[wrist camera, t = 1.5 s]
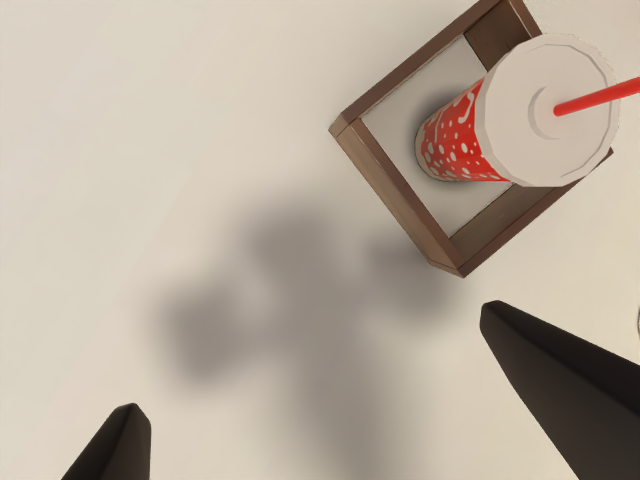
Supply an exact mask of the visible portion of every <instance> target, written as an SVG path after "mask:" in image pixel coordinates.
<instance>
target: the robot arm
mask: <svg viewBox="0 0 640 480" xmlns="http://www.w3.org/2000/svg"><path fill="white" fill-rule="evenodd" d="M480 330H481V333H482V335H483V337H484V338H485V340H486V342H487V344H488V345H489V347H490V349H491V351H492V352H493V354H494V356H495V358H496V359H497V361H498V363H499V365H500V366H501V368H502V370H503V371H504V373H505V375H506V377H507V378H508V380H509V382H510V383H511V385H512V386H513V388H514V389H515V391H516V392H517V394H518V395H519V397H520V398H521V399H522V401H523V402H524V404H525V405H526V406H527V408H528V409H529V410H530V412H531V413H532V415H533V416H534V417H535V419H536V420H537V422H538V423H539V424H540V426H541V427H542V429H543V430H544V431H545V433H546V434H547V436H548V437H549V438H550V440H551V441H552V442H553V444H554V445H555V447H556V448H557V449H558V451H559V452H560V454H561V455H562V456H563V458H564V459H565V461H566V462H567V463H568V465H569V466H570V468H571V469H572V470H573V472H574V473H575V474H576V476H577V477H578V479H579V480H640V365H637V364H635V363H633V362H631V361H629V360H627V359H625V358H622V357H620V356H618V355H616V354H614V353H612V352H610V351H607V350H605V349H603V348H601V347H599V346H597V345H595V344H592V343H590V342H588V341H586V340H584V339H582V338H579V337H577V336H575V335H573V334H571V333H569V332H567V331H564V330H562V329H560V328H558V327H556V326H554V325H552V324H549V323H547V322H545V321H543V320H541V319H539V318H537V317H534V316H532V315H530V314H528V313H526V312H524V311H522V310H519V309H517V308H515V307H513V306H511V305H509V304H507V303H504V302H502V301H499V300H495V301H491V302H488V303H485V304H483V306H482V309H481V317H480ZM150 453H151V424H150V421H149V419H148V418H147V417H146V415H145V414H144V413H143V412H142V410H141V409H140V408H139V406H138V405H137V404H135V403H130V404H126V405H123V406H119V407H117V408H116V409H115V410H114V411H113V412H112V413H111V414H110V416H109V417H108V418H107V420H106V421H105V422H104V424H103V425H102V426H101V428H100V429H99V430H98V432H97V433H96V434H95V435H94V437H93V438H92V439H91V441H90V442H89V443H88V445H87V446H86V447H85V449H84V450H83V451H82V453H81V454H80V455H79V457H78V458H77V459H76V460H75V462H74V463H73V464H72V466H71V467H70V468H69V470H68V471H67V472H66V474H65V475H64V476H63V478H62V479H61V480H149V477H150Z"/></svg>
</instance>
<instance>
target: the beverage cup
mask: <svg viewBox="0 0 640 480" xmlns="http://www.w3.org/2000/svg"><path fill="white" fill-rule="evenodd" d="M636 93H640V77H637V78H634V79H631V80H628V81H625V82H622V83H619V84H617V83H616V79H615V75H614V72H613V69H612V68H611V67H610V65H609V64H608V63H607V61H606V60H605V59H604V57H603V56H602V55H601V53H600V52H599V51H598V50H597V48H596V47H594V46H592V45H590V44H588V43H587V42H585V41H583V40H581V39H579V38H577V37H576V36H574V35H569V34H547V33H545V34H542V35H540V36H538V37H535V38H533V39H530V40H528V41H526V42H523V43H521V44H519V45H517V46H516V47H514V48H513V49H512V50H511V51H510V52H508V53H506V54H505V55H504V56H503V57H502V58H501V59H500V60H499V61H498V62H497V63H496V64H495V66H494V67H493V68H492V69H491V70H490V71H489V72H488V73H487V74H486V76H484V77H483V78H482V79H480V80H479V81H477V82H476V83H475V84H473V85H472V86H471V87H469V88H468V89H467V90H465V91H464V92H462V93H461V94H460V95H458V96H457V97H456V98H454V99H453V100H451V101H450V102H449V103H447V104H446V105H445V106H443V107H442V108H440V109H439V110H438V111H436V112H435V113H434V114H432V115H431V116H430V117H429V118H428V119H427V120H426V121H425V122H424V123H423V124H422V125H421V126H420V129H419V131H418V134H417V136H416V139H415V154H416V157H417V159H418V162H419V165H420V166H421V168H422V169H423V170H424V171H425V172H426V173H427V174H428V175H429V176H431V177H433V178H436V179H438V180H440V181H512V182H514V183H517V184H519V185H521V186H523V187H558V186H564V185H566V184H569V183H571V182H573V181H575V180H577V179H580V178H582V177H584V176H586V175H588V174H589V173H590V172H591V170H592V169H593V168H594V167H595V166H596V165H597V164H598V163H599V162H600V161H601V160H602V159H603V158H604V157H605V156H606V155H607V153H608V150H609V148H610V146H611V144H612V141H613V139H614V137H615V134H616V132H617V130H618V126H619V114H620V101H621V98H623V97H626V96H630V95H633V94H636Z"/></svg>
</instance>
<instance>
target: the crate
mask: <svg viewBox="0 0 640 480" xmlns="http://www.w3.org/2000/svg"><path fill="white" fill-rule="evenodd" d="M463 34H464V35H465V37H466V38H467V40H468V41H469V43H470V44H471V46H472V47H473V49H474V51H475V52H476V54H477V55H478V57H479V58H480V60H481V61H482V63H483V64H484V66H485V68H486V69H487V71H488V72H489V71H490V70H491V69H492V68H493V67H494V66H495V64H496V63H497V62H498V61H499V60H500V59H501V58H502V57H503V56H504V55H505V54H506V53H508V52H510V51H511V50H512V49H513V48H514V47H516V46H517V45H519V44H521V43H523V42H526V41H528V40H530V39H533V38H535V37H538V36H540V35H542V32H541V30H540V29H539V27H538V25H537V24H536V22H535V21H534V19H533V17H532V16H531V14H530V12H529V11H528V9H527V7H526V6H525V4H524V2H523V1H522V0H479V1H478V2H477V3H475V4H474V5H473V6H472V7H470V8H469V9H468V10H467V11H466V12H464V13H463V14H462V15H461V16H459V17H458V18H457V19H456V20H454V21H453V22H452V23H451V24H450V25H448V26H447V27H446V28H445V29H443V30H442V31H441V32H440V33H439V34H437V35H436V36H435V37H434V38H432V39H431V40H430V41H429V42H427V43H426V44H425V45H424V46H423V47H421V48H420V49H419V50H418V51H416V52H415V53H414V54H413V55H411V56H410V57H409V58H408V59H407V60H405V61H404V62H403V63H402V64H400V65H399V66H398V67H397V68H395V69H394V70H393V71H392V72H391V73H389V74H388V75H387V76H386V77H384V78H383V79H382V80H381V81H380V82H378V83H377V84H376V85H375V86H373V87H372V88H371V89H370V90H368V91H367V92H366V93H365V94H364V95H362V96H361V97H360V98H359V99H357V100H356V101H355V102H354V103H352V104H351V105H350V106H349V107H348V108H346V109H345V110H344V111H343V112H341V113H340V115H339V116H338V117H337V119H336V120H335V122H334V123H333V124H332V126H331V127H330V128H329V131H330V133H331V134H332V135H333V137H334V138H336V141H337V142H338V143H339V145H340V146H341V147H342V148H343V150H344V151H345V152H346V154H347V155H348V156H349V158H350V159H351V160H352V162H353V163H354V164H355V166H356V167H357V168H358V170H359V171H360V172H361V173H362V175H363V176H364V177H365V179H366V180H367V181H368V183H369V184H370V185H371V187H372V188H373V189H374V191H375V192H376V193H377V194H378V196H379V197H380V198H381V200H382V201H383V202H384V204H385V205H386V206H387V208H388V209H389V210H390V212H391V213H392V214H393V216H394V217H395V218H396V219H397V221H398V222H399V223H400V225H401V226H402V227H403V229H404V230H405V231H406V233H407V234H408V235H409V237H410V238H411V239H412V240H413V242H414V243H415V244H416V246H417V247H418V248H419V250H420V251H421V252H422V254H423V255H424V256H425V257H426V258H427V260H428V261H429V263H430V264H431V265H432V266H435V267H437V268H439V269H442V270H444V271H447V272H449V273H451V274H454V275H456V276H459V277H461V278H465V277H466V276H467V275H469V274H470V273H471V272H472V271H473V270H475V269H476V268H477V267H478V266H479V265H481V264H482V263H483V262H484V261H485V260H487V259H488V258H489V257H490V256H491V255H492V254H494V253H495V252H496V251H497V250H498V249H500V248H501V247H502V246H503V245H504V244H506V243H507V242H508V241H509V240H510V239H512V238H513V237H514V236H515V235H516V234H518V233H519V232H520V231H521V230H522V229H523V228H525V227H526V226H527V225H528V224H529V223H531V222H532V221H533V220H534V219H535V218H537V217H538V216H539V215H540V214H541V213H543V212H544V211H545V210H546V209H547V208H549V207H550V206H551V205H552V204H553V203H554V202H556V201H557V200H558V199H559V198H560V197H562V196H563V195H564V194H565V193H566V192H568V191H569V190H570V189H571V188H572V187H574V186H575V185H576V184H577V183H578V182H580V181H581V180H582V179H583V178H584V177H586V176H587V175H586V176H584V177H582V178H580V179H577V180H575V181H573V182H571V183H569V184H566V185H564V186H558V187H523V186H521V185H519V184H517V183H516V184H515V185H513V186H512V187H511V188H510V189H509V190H507V191H506V192H505V193H504V194H503V195H501V196H500V197H499V198H498V199H497V200H495V201H494V202H493V203H492V204H491V205H489V206H488V207H487V208H486V209H485V210H483V211H482V212H481V213H480V214H479V215H477V216H476V217H475V218H474V219H473V220H471V221H470V222H469V223H468V224H467V225H465V226H464V227H463V228H462V229H461V230H459V231H458V232H457V233H456V234H455V235H453V236H452V237H451V238H450V239H448V237H447V236H446V234H445V233H444V232H443V230H442V229H441V228H440V226H439V225H438V224H437V222H436V221H435V220H434V218H433V217H432V215H431V214H430V213H429V211H428V210H427V209H426V207H425V206H424V205H423V203H422V202H421V201H420V199H419V198H418V197H417V195H416V194H415V192H414V191H413V190H412V188H411V187H410V186H409V184H408V183H407V182H406V180H405V179H404V178H403V176H402V175H401V173H400V172H399V171H398V169H397V168H396V167H395V165H394V164H393V163H392V161H391V160H390V159H389V157H388V156H387V154H386V153H385V152H384V150H383V149H382V148H381V146H380V145H379V144H378V142H377V141H376V140H375V138H374V137H373V136H372V134H371V133H370V131H369V130H368V129H367V127H366V126H365V125H364V123H363V122H362V121H361V119H360V118H361V117H362V116H364V115H365V114H366V113H367V112H369V111H370V110H371V109H372V108H374V107H375V106H376V105H377V104H378V103H380V102H381V101H382V100H383V99H385V98H386V97H387V96H388V95H389V94H391V93H392V92H393V91H394V90H396V89H397V88H398V87H399V86H400V85H402V84H403V83H404V82H405V81H407V80H408V79H409V78H410V77H412V76H413V75H414V74H415V73H416V72H418V71H419V70H420V69H421V68H423V67H424V66H425V65H426V64H427V63H429V62H430V61H431V60H432V59H434V58H435V57H436V56H437V55H438V54H440V53H441V52H442V51H443V50H445V49H446V48H447V47H448V46H450V45H451V44H452V43H453V42H454V41H456V40H457V39H458V38H459V37H461V36H462V35H463ZM613 153H614V152H613V150H612V148H611V147H610V148H609V150H608V153H607V155H606V156H605V157H604V158H603V159H602V160H601V161H600V162H599V163H598V164H597V165H596V166H595V167H594V168H593V169H592V170H591V171H593V170H594V169H595V168H596V167H597V166H599V165H600V164H601V163H602V162H603V161H605V160H606V159H607V158H608V157H609V156H611V155H612V154H613Z"/></svg>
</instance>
